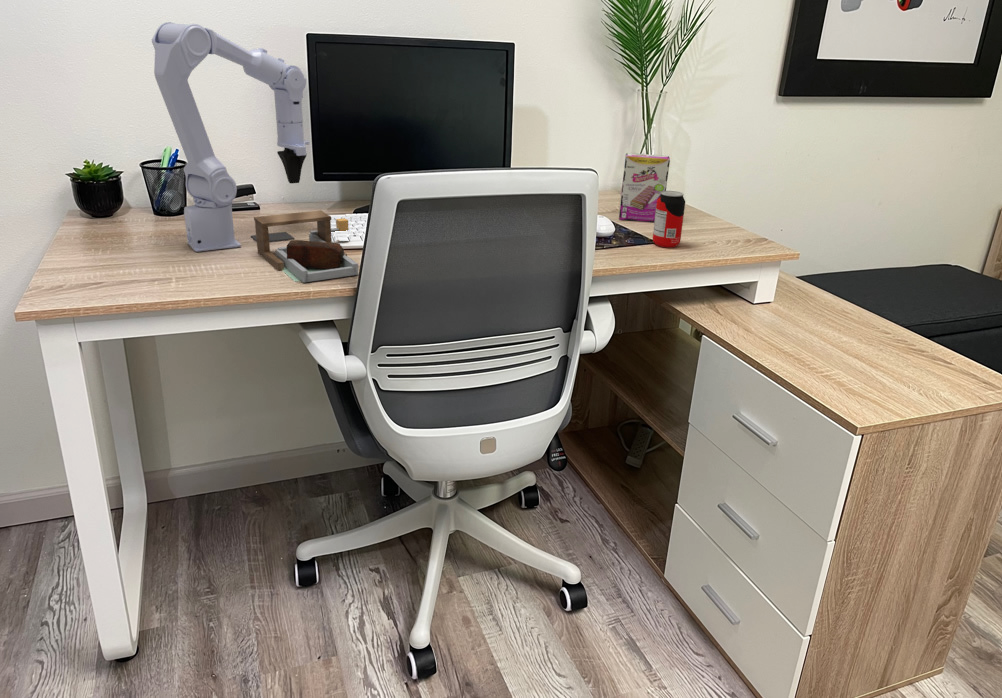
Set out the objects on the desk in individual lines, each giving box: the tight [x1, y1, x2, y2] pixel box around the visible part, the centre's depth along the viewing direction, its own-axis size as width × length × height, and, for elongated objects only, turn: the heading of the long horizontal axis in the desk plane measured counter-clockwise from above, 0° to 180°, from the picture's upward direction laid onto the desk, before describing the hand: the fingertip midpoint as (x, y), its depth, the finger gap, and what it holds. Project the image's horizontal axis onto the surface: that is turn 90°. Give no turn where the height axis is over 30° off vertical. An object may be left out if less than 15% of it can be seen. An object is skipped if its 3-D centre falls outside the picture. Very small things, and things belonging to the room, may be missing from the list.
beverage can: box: [652, 190, 686, 249], centre depth 177 cm, size 6×6×12 cm
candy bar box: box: [618, 152, 671, 223], centre depth 198 cm, size 11×5×16 cm, turn 82°
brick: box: [286, 239, 345, 269], centre depth 154 cm, size 11×4×5 cm, turn 92°
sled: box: [275, 217, 359, 283], centre depth 159 cm, size 18×25×5 cm
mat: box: [281, 266, 343, 283], centre depth 154 cm, size 13×10×1 cm
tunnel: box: [253, 210, 348, 272], centre depth 160 cm, size 14×14×8 cm
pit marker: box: [250, 231, 295, 243], centre depth 174 cm, size 8×6×1 cm
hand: (294, 182), depth 179 cm, fingers closed
